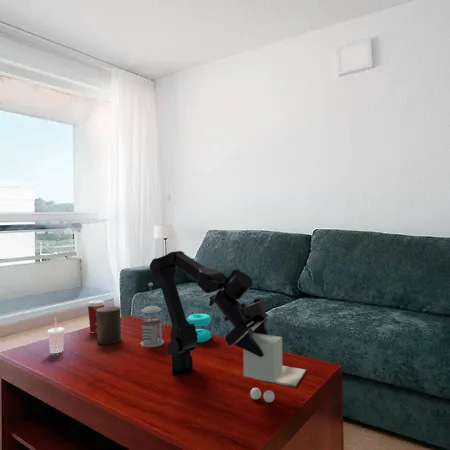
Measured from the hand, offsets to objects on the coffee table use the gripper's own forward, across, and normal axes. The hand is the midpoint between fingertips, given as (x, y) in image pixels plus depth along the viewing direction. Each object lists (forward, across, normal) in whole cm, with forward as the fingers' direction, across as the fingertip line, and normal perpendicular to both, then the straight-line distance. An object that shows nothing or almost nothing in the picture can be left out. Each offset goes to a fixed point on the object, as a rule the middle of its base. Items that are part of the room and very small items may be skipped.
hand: (267, 351), depth 100 cm
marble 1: (+7, -2, +12) cm, 14 cm away
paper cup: (-56, +24, +76) cm, 97 cm away
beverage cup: (-52, -2, +72) cm, 88 cm away
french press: (-32, +22, +52) cm, 65 cm away
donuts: (-21, +34, +41) cm, 57 cm away
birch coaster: (+9, +16, +10) cm, 21 cm away
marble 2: (+10, -2, +9) cm, 13 cm away
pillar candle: (-45, +17, +66) cm, 81 cm away
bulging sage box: (+4, 0, +6) cm, 7 cm away
